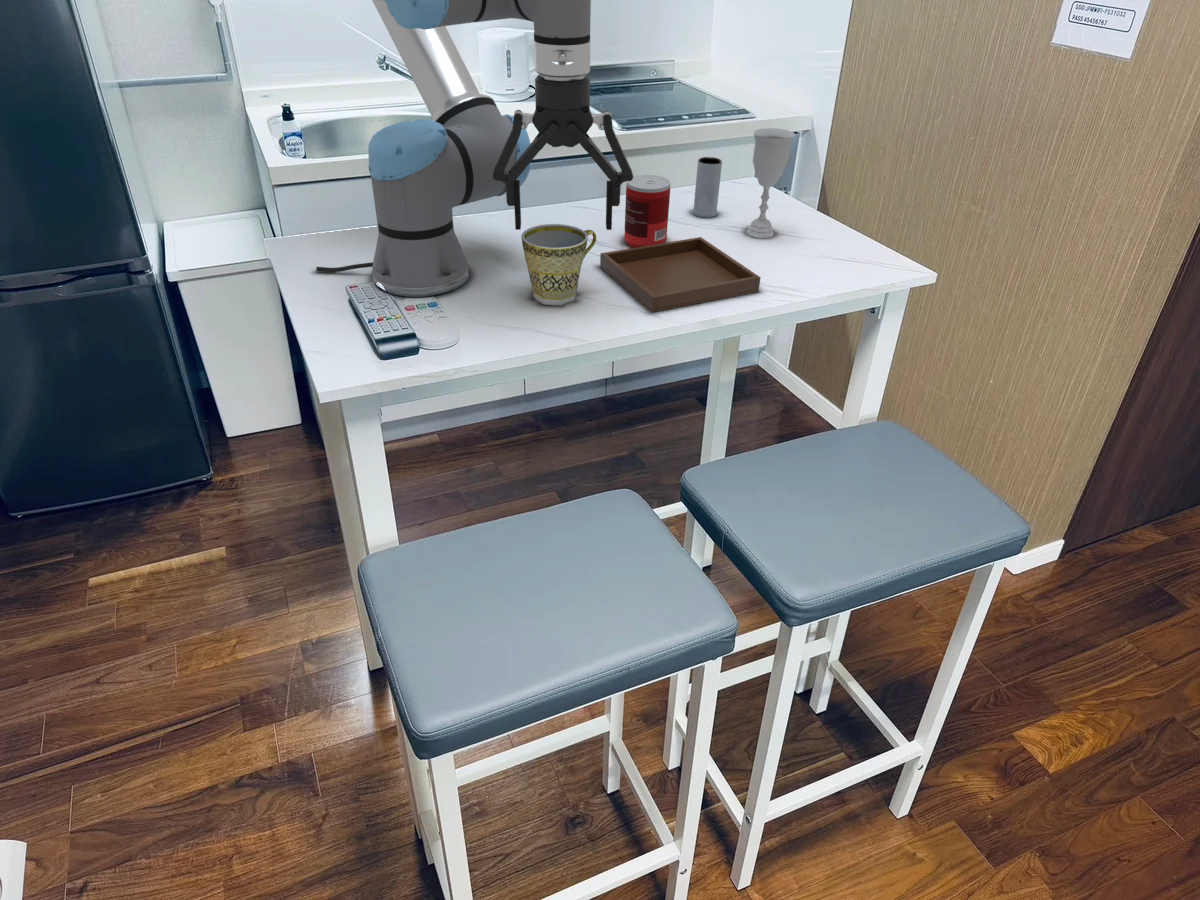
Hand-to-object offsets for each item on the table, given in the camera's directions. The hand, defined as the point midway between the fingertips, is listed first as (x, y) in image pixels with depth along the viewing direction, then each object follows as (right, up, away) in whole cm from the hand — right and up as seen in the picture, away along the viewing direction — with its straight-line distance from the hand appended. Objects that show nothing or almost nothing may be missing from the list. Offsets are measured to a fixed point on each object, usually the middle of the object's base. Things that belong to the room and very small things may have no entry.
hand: (563, 226), depth 126 cm
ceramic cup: (0, -9, +7) cm, 11 cm away
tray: (+18, -5, +12) cm, 23 cm away
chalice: (+35, +7, +30) cm, 47 cm away
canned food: (+14, +4, +25) cm, 29 cm away
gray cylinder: (+26, +13, +38) cm, 48 cm away
